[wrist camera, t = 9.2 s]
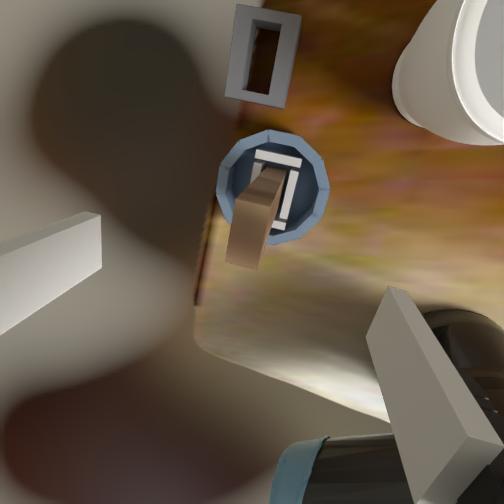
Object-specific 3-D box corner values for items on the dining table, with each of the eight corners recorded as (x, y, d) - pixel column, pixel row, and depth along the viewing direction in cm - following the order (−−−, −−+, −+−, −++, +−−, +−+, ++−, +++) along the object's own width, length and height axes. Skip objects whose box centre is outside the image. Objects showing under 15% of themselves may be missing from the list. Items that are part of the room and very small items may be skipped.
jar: (355, 99, 28) (403, 72, 14) (439, -24, 24) (623, -230, 10) (441, 161, 29) (565, 191, 15) (538, 53, 24) (832, -39, 11)
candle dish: (310, 240, 34) (310, 254, 31) (220, 219, 35) (210, 230, 31) (339, 143, 30) (343, 145, 26) (235, 121, 30) (225, 120, 27)
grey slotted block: (284, 109, 29) (282, 108, 27) (230, 98, 30) (224, 96, 27) (302, 25, 26) (301, 15, 24) (242, 14, 27) (236, 3, 24)
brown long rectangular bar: (278, 205, 32) (256, 269, 18) (261, 201, 32) (225, 261, 18) (287, 169, 30) (270, 206, 16) (268, 165, 31) (235, 198, 16)
